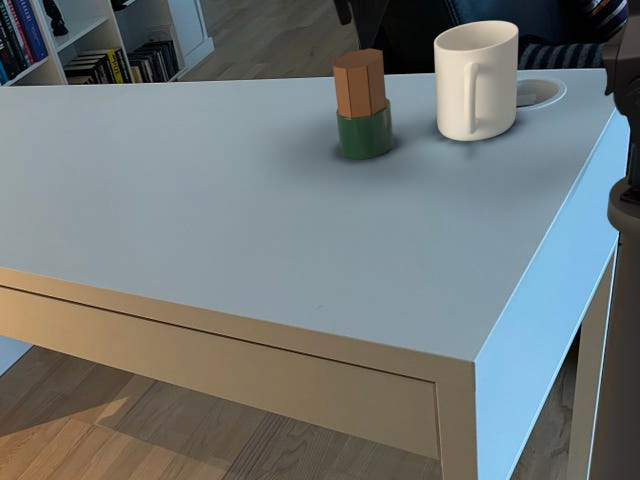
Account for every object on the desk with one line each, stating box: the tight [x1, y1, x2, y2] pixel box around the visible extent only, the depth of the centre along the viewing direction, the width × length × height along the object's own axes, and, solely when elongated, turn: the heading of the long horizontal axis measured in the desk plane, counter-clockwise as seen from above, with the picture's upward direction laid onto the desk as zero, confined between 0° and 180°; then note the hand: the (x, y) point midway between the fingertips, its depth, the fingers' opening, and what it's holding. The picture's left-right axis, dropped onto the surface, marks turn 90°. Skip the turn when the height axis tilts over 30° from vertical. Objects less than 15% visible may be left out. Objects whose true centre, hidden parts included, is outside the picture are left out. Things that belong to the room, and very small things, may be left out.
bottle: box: [335, 97, 394, 160], centre depth 88 cm, size 6×6×8 cm
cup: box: [433, 20, 519, 142], centre depth 83 cm, size 8×12×10 cm
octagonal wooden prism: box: [332, 48, 387, 118], centre depth 86 cm, size 5×5×6 cm
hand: (355, 35), depth 82 cm, fingers open, 9 cm apart
